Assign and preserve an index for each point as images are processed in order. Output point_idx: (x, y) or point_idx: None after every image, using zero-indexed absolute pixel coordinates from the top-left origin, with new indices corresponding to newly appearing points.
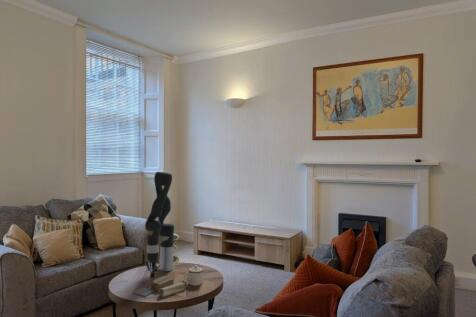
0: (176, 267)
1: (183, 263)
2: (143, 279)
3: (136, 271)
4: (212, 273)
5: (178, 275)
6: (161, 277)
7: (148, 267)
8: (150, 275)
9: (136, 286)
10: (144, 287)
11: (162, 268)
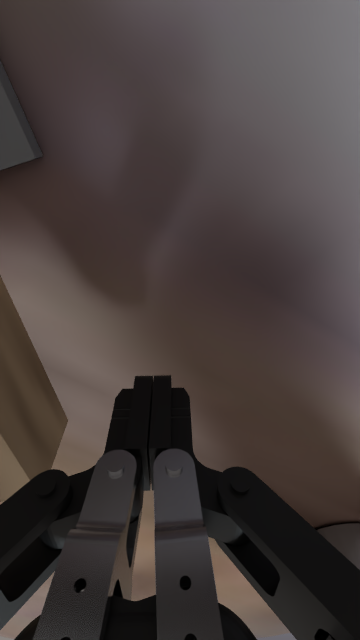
0: None
1: None
2: (344, 334)
3: None
4: None
5: None
6: (6, 456)
7: (256, 536)
8: (163, 399)
9: (214, 112)
10: (25, 160)
11: (347, 551)
